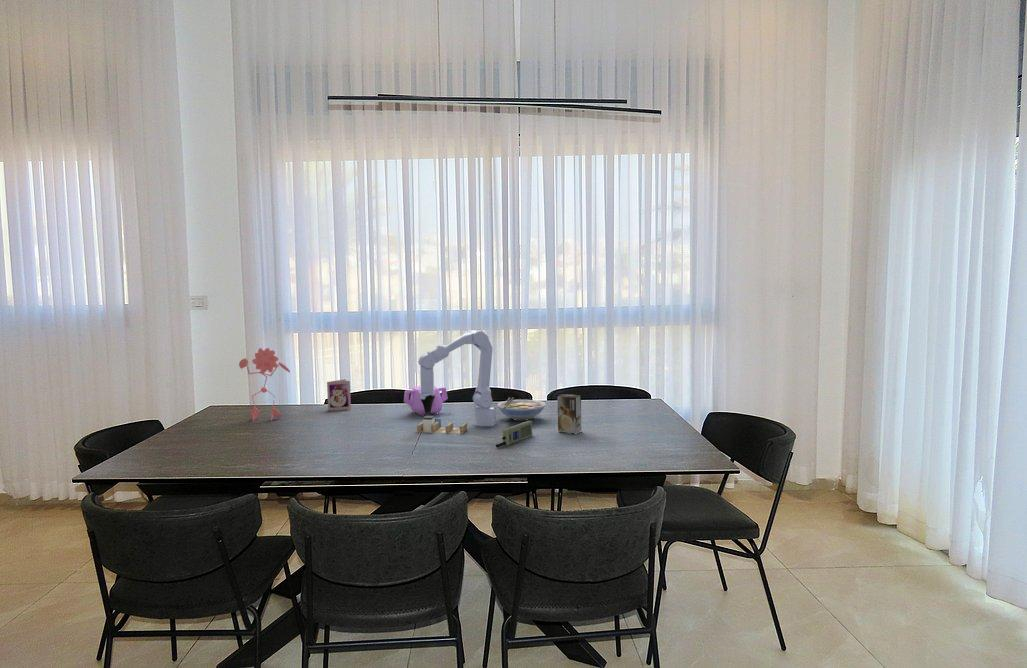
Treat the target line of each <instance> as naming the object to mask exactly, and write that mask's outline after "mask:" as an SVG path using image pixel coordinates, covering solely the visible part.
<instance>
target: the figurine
mask: <svg viewBox="0 0 1027 668" xmlns="http://www.w3.org/2000/svg"><path fill="white" fill-rule="evenodd" d="M270 349H271V348H269V347H266V348H265V349H264V350H263V348H262V347H259V348H258V350H257V352H255V353H254V358H253V359H252V360H251V361H252V363H253V364H254V365H255V369H256V370H260V371H257V372H250V370H249V365H248V364H249V361H248V359H247V358H246V357H245V358H242V359H241V360H240V361H239V363H238V366H239V369H240V370H242V369H244V368H245V367H246V369H247V370H246V371H247V373H248V375H254V374H261V375H263V376H264V377H265V380H264V384H263V385H264V386H262V387H261V389H260V391H258V392H256V393H255V394H253V395H251V399H252V403H253V408H252V409H251V411H250V414H251V417H252V422H254V421H255V420H256V418H258V417H259V416H260V415H259V414H260V410H259V408H257V407H256V406H255V401H254V396H256V395H257V394H259V393H266V392H267V393H269V394H270V395H272V396H273V397H275V395H274V393H272V392H270V391H269V390H268V389H267V387H266V383H267V380H268V377H272V376H273V375H274V372H275V371H276V370H277V369H278V367H281V368H282V369H283V370H285V371H286V372H287V373H289V374H290V373H291V370H290V369H289V368H288V367H287V366H286V365H285V364H283V363H282V362H278V361H279V357H278V356H277V355H275V354H276V352H275V350H273V349H272V350H270ZM277 362H278V364H277ZM267 371H268V373H270V374H268V373H266V372H267ZM272 402H273V405H272V406H273V407H272V408H270V412H271V418H270V421H271V422H273V417H274V416H275V417H276V418H278V419H281V417H282V416H281V415H282V414H281V413H280V411H279V410H277V408H275V401H272ZM283 421H285V419H284V420H283Z"/></svg>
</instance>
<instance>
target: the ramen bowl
mask: <svg viewBox="0 0 1027 668" xmlns="http://www.w3.org/2000/svg"><path fill="white" fill-rule="evenodd" d="M497 406H498V408H499V411H500V412H501V413H502V414H503V415H504V416H506V417H507V418H509V419H513V420H514V419H516V420H515V421H517V420H526V419H529V420H531V419H532V418H535V417H537V416H538V415H539V414H541V412H542V411H543V410H544V409H545V407H546V403H545V402H543V401H541V400H537V399H535V400H534V399H515V397H513V396H512V397H510V396H509V397H508V399H507V400H505V401H500V402H498V403H497ZM526 421H527V420H526Z"/></svg>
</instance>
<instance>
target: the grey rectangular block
mask: <svg viewBox="0 0 1027 668" xmlns="http://www.w3.org/2000/svg"><path fill="white" fill-rule="evenodd" d="M435 418H436V417H435V416H434V415H424V416H423V417H422V419H423V420H422V422H423V431H431V426H432V425H433V424H434V423H435Z"/></svg>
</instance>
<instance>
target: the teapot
mask: <svg viewBox="0 0 1027 668" xmlns="http://www.w3.org/2000/svg"><path fill="white" fill-rule="evenodd" d="M434 389H435V393H434V394H432V395H431V396H435V398H434V400H433V403H432V408H431V412H430V413H432V415H438V414H439V413H440V412H441V411H442V410H443V409H442V408H443V403H444V402H446V400H448V399H449V397H448V392H447V388H446V387H445V386H441V387H437V386H435V385H434ZM419 391H421V385H420V386H414V387H412V389H407V390H405V391H404V395H403V403H405V404H406V405H408V406H409V407H410V409H411V410H412V411H413V413H414V412H416V413H415V414H418V415H424V416H426V415H425V414H426V413H425V410H424V406H423V403H422V401H421V400H420V395H421V394H418V392H419ZM430 413H429V414H430ZM437 413H438V414H437Z"/></svg>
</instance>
